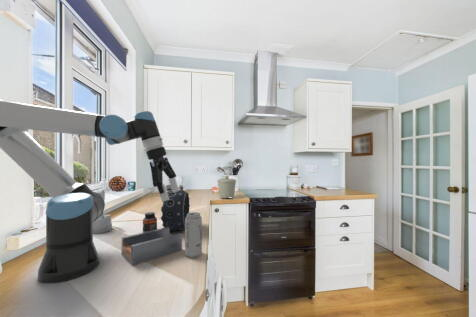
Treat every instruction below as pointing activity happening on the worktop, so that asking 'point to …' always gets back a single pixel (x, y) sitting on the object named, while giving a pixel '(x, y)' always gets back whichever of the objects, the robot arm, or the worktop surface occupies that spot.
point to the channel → (150, 245)
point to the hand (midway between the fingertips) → (171, 195)
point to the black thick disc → (175, 210)
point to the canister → (226, 187)
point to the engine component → (102, 219)
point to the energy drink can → (193, 235)
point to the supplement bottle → (149, 222)
